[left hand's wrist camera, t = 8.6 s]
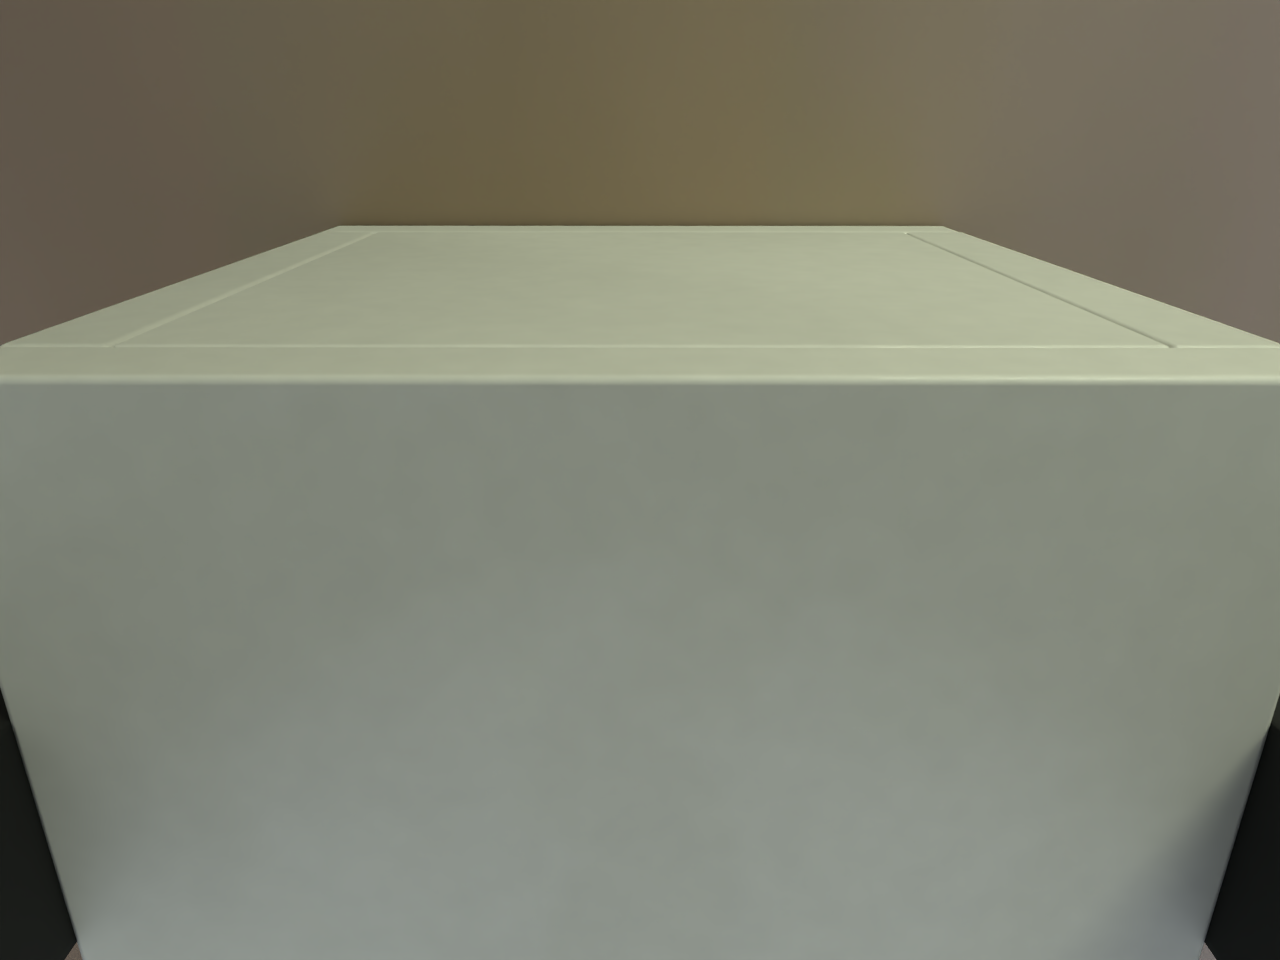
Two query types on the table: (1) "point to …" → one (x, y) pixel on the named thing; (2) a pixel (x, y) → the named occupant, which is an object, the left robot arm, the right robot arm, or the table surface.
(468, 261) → the cabinet
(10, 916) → the left robot arm
